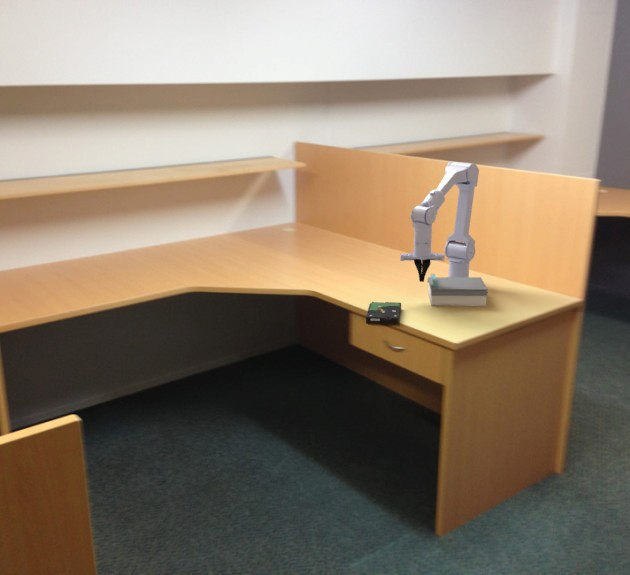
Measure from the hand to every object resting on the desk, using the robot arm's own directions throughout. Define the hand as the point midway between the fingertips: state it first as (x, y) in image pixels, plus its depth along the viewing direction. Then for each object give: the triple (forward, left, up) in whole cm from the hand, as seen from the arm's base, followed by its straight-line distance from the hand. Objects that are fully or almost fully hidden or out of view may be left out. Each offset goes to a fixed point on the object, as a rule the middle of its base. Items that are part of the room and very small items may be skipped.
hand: (421, 280), depth 234 cm
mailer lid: (0, +12, -3) cm, 12 cm away
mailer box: (0, +12, -7) cm, 14 cm away
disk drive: (+16, -13, -7) cm, 22 cm away
